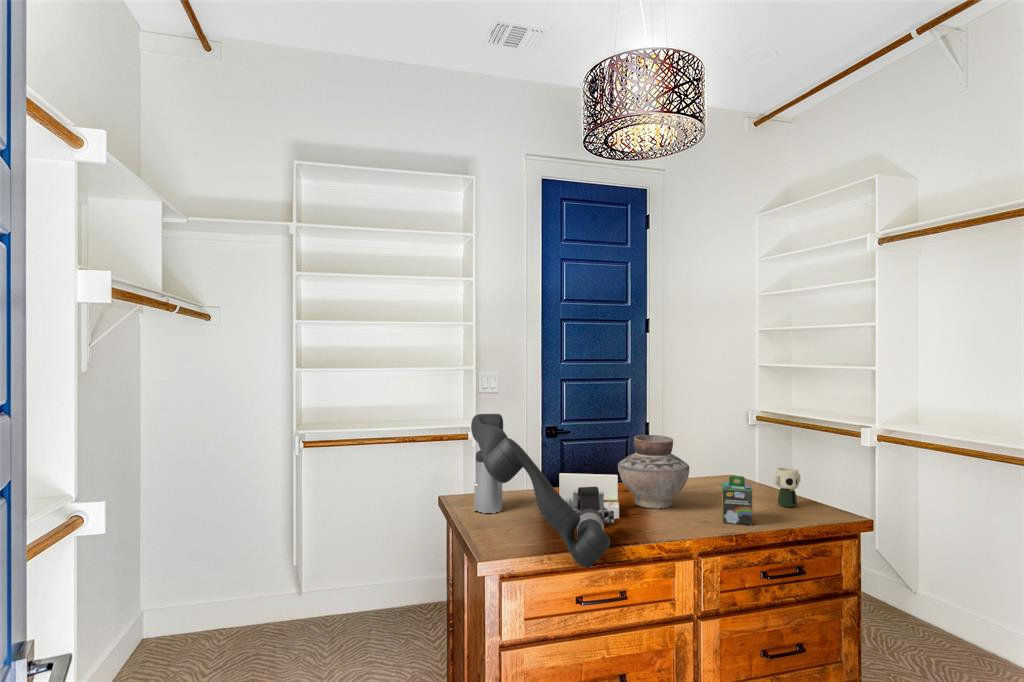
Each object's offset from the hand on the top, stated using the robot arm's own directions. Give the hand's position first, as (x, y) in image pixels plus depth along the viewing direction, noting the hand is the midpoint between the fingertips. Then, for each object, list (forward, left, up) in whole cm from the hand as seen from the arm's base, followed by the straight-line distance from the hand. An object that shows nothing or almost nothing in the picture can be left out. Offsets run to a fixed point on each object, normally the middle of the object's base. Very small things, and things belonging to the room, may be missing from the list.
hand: (590, 509), depth 184 cm
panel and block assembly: (-1, +18, -6) cm, 19 cm away
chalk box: (+47, +15, -6) cm, 50 cm away
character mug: (+69, +35, -6) cm, 78 cm away
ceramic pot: (+22, +31, -6) cm, 39 cm away
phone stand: (-1, +4, -6) cm, 7 cm away
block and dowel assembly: (+2, +13, -6) cm, 14 cm away
